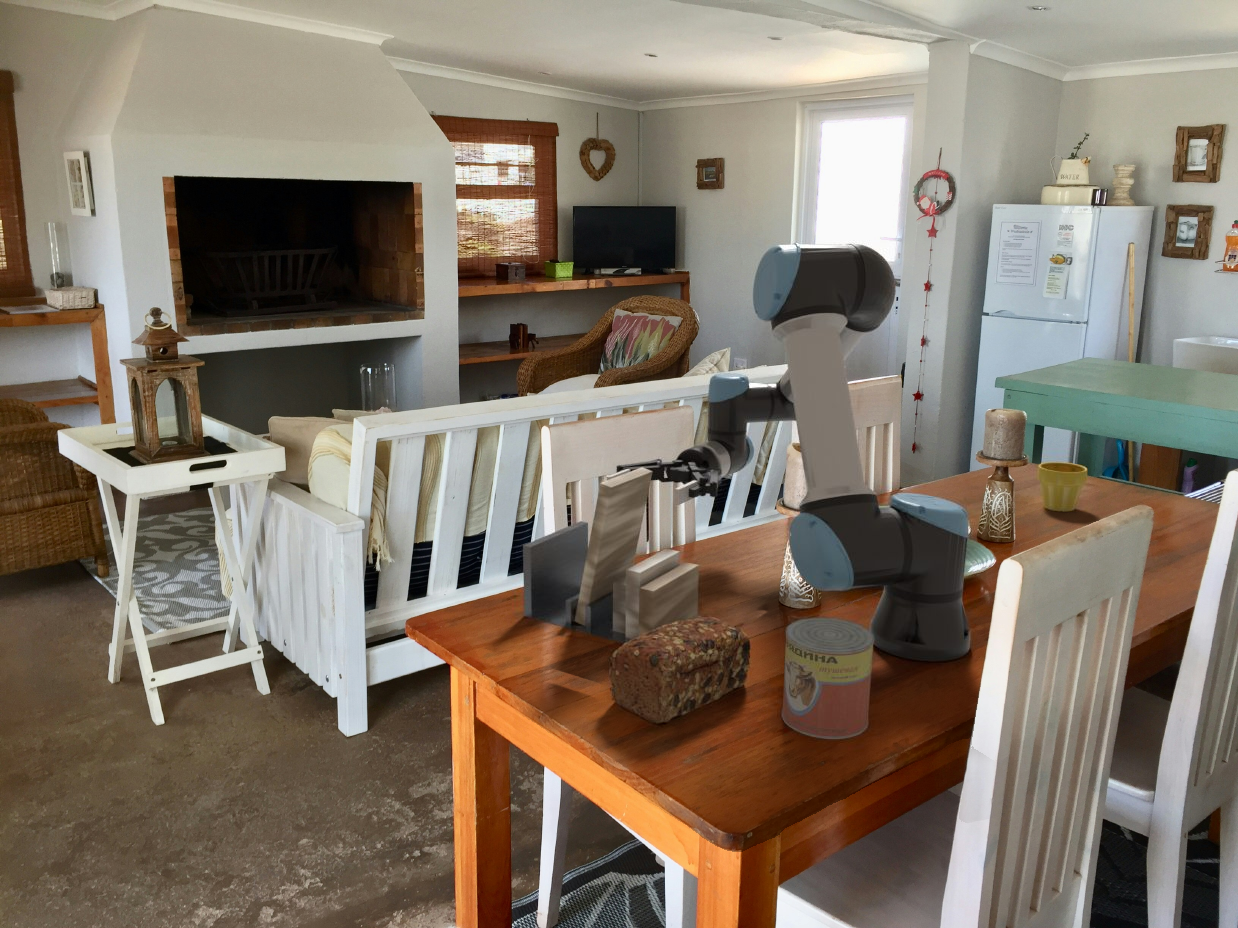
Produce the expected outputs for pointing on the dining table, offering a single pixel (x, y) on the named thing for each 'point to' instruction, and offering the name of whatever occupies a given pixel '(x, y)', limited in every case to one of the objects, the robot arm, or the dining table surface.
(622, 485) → the plywood sheet
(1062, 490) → the plant pot
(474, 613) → the dining table surface
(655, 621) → the offcut stack
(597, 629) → the metal rack
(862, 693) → the canned food
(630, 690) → the bread
